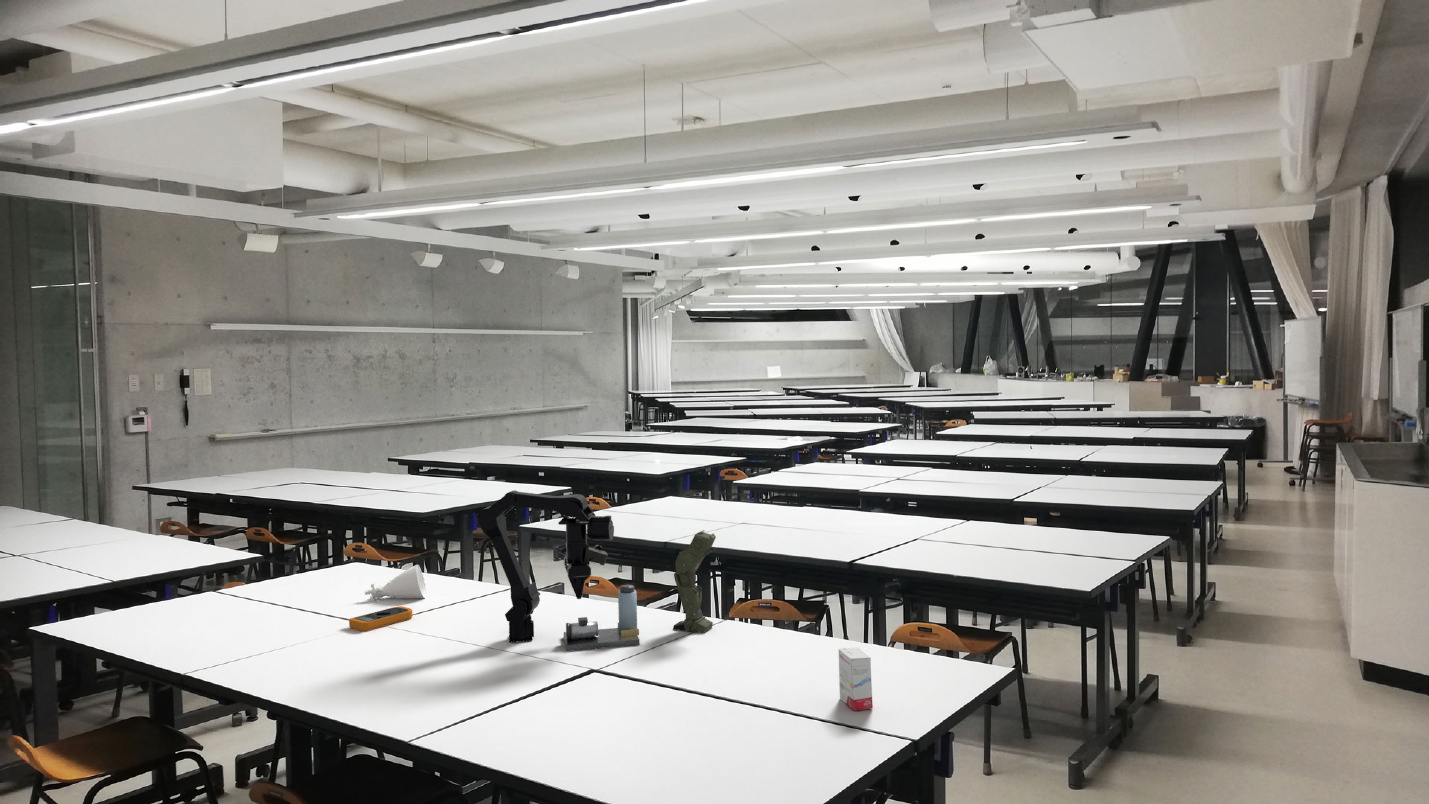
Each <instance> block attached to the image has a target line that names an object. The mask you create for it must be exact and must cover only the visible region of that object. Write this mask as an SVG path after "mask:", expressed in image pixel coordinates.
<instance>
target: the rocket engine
mask: <svg viewBox="0 0 1429 804" xmlns="http://www.w3.org/2000/svg"><path fill="white" fill-rule="evenodd" d="M388 581H389V582H387V583H386V584H384V586H382V585H380V584H379V585H378V586H376V584H375V583H373V584H372V583H371V584H370V587H371V588H370V589H369V590H368V589H366V591H365V590H364V595H365V596H368V595H370V596H369V599H370V600H371V601H372V602H375V603H376V602H379V601H380V599H382V598H384V597H387V598H388V597H390V598H393V599H396V598H397V599H412V600H413V599H416V600H417V599H426V597H427V588H426V583H425V577H424V574H423V572H422V569H421V567H420V565H419V564H415V565H414V566H412V567H410V568H409V567H408V569H406V570H404V571H403V572H401V573H399V574H398V575H397V576H395V577H393V578H392V579H390V580H388ZM375 599H376V600H375Z"/></svg>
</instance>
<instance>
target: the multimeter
mask: <svg viewBox="0 0 1429 804" xmlns="http://www.w3.org/2000/svg"><path fill="white" fill-rule="evenodd" d="M412 617H413V609H412V608H410V607H406V606H401V605H400V606H393V607H390V608H385V609H381V610H377V611H374V612H371V613H370V612H369V613H367V614H362V615H359V616H355V617H350V618H349V619H348V624H349V625H348V627H349V628H350V629H352V630H356V631H360V632H365V633H367V632H370V631H373V630H375V629H380V628H383V627H386V626H391V625H394V624H397V623H398V624H399V623H401V622H406V621H409V620H411V619H412Z"/></svg>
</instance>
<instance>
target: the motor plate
mask: <svg viewBox="0 0 1429 804" xmlns="http://www.w3.org/2000/svg"><path fill="white" fill-rule="evenodd" d="M639 635H640V629H639V628H637V629H626V630H621V633H619V622H617V627H612V628H611V627H610V628H599V623H598V621H589V620H588V617H587V616H586V617H585V616H583V617H581V616H580V617H577V622H572V623H571V622H566V623H565V631H563V642H564V644H565V649H566V652H570V651H569V650H574V651H583V650H584V651H585V650H594V649H595V648H597V649H603V648H602V647H609V648H618V647H620V648H621V647H631V646H641V645H640V643H641V642H640V638H639Z"/></svg>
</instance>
